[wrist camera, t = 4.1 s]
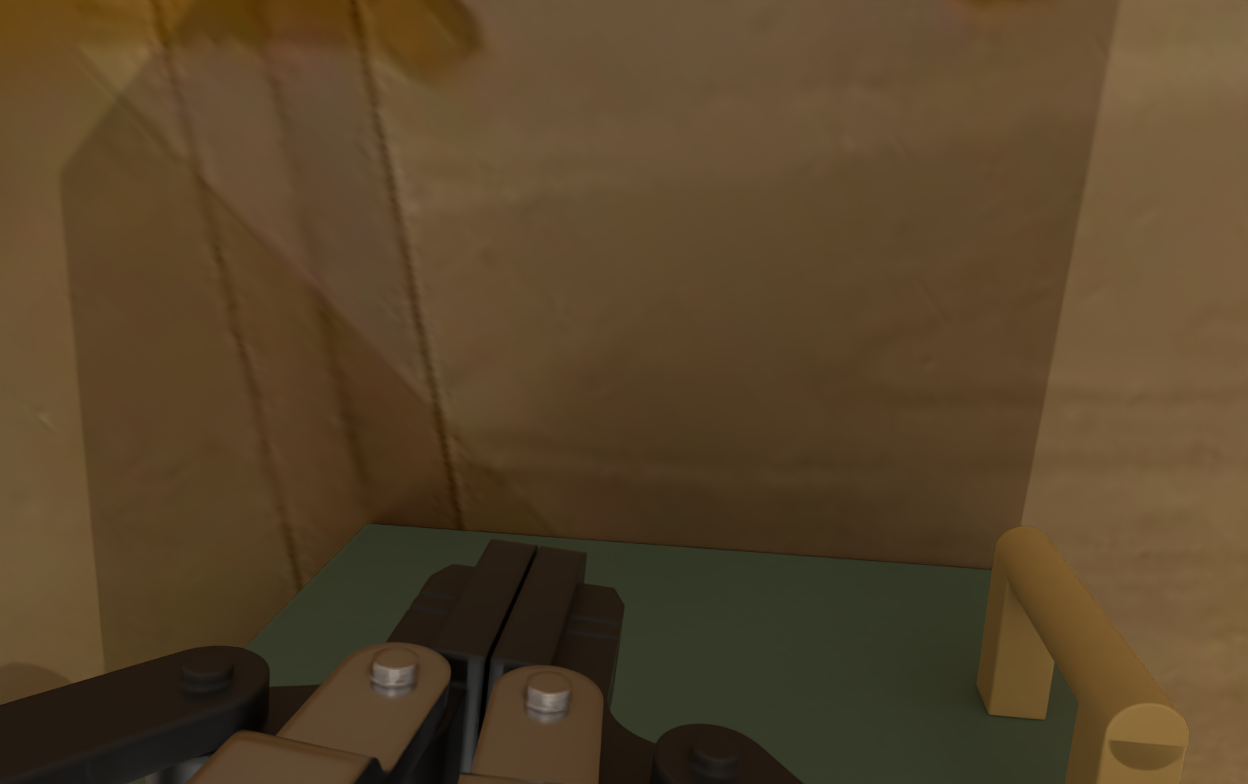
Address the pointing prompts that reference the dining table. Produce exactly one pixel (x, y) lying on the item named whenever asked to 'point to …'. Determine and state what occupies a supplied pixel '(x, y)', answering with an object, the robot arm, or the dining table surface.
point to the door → (813, 655)
